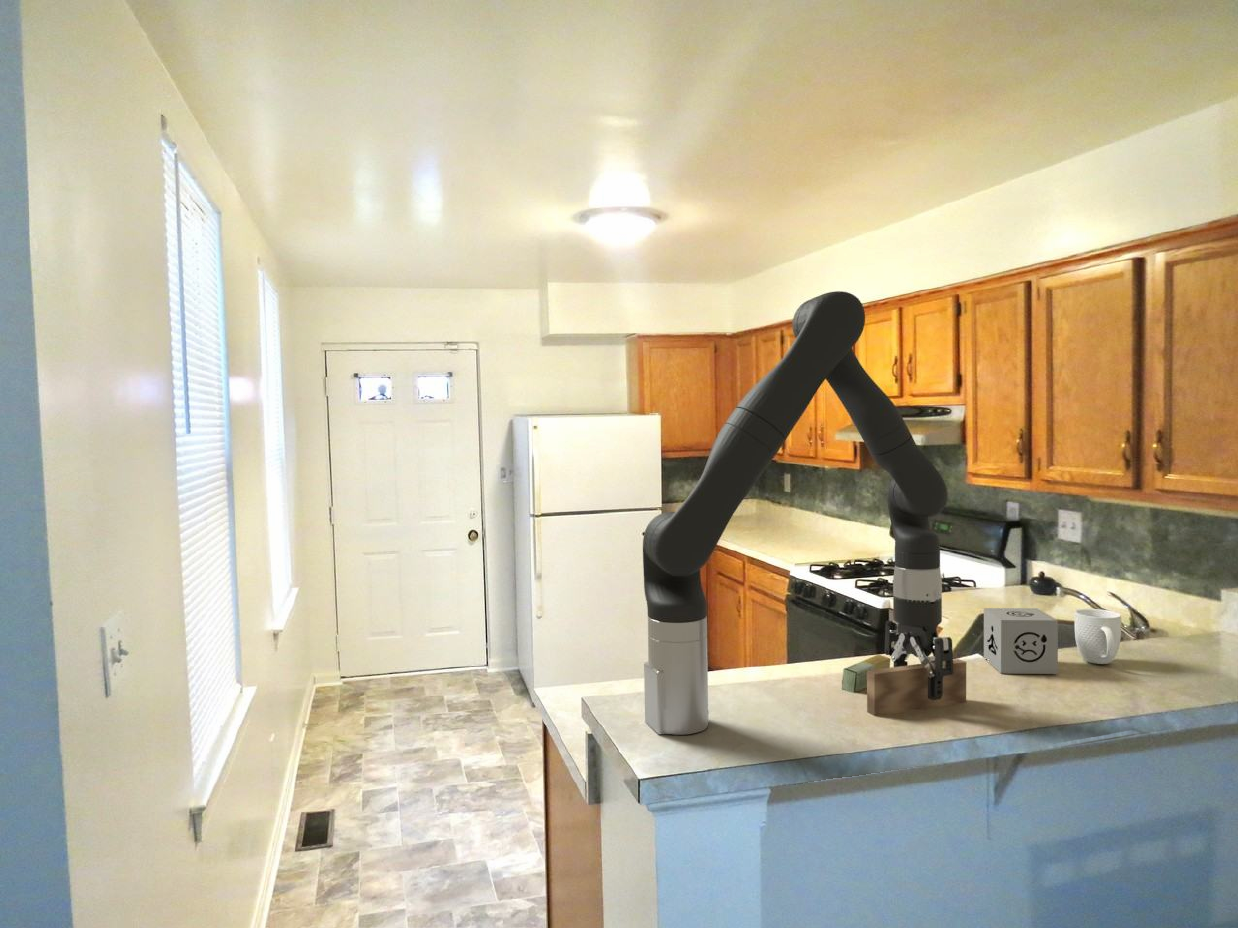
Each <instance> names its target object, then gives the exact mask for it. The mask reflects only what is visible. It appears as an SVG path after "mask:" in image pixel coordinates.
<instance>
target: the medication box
mask: <svg viewBox="0 0 1238 928" xmlns="http://www.w3.org/2000/svg"><path fill="white" fill-rule="evenodd" d="M884 668H891V657H887V656H884V655H882V654H879V653H878V654H876V655H874V656H872V657H871V656H870V657H868V658H867V659H864V660H861V661H860V662H857V663H854V664H852V665H849V666H847V667H844V668H843V669H842V670H843V672H842V679H841V690H842V691H845V692H848V693H852V694H854V693H856V692H859V691H861V690H864V689H867V671H869V670H876V669H884Z"/></svg>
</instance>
